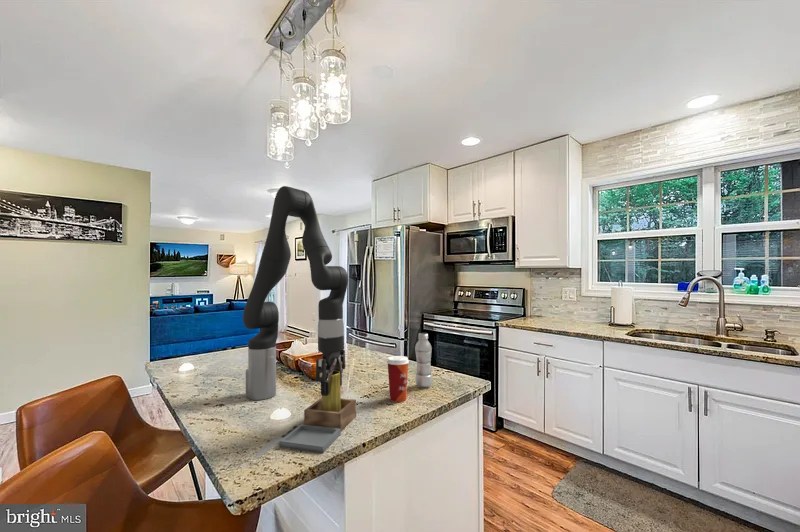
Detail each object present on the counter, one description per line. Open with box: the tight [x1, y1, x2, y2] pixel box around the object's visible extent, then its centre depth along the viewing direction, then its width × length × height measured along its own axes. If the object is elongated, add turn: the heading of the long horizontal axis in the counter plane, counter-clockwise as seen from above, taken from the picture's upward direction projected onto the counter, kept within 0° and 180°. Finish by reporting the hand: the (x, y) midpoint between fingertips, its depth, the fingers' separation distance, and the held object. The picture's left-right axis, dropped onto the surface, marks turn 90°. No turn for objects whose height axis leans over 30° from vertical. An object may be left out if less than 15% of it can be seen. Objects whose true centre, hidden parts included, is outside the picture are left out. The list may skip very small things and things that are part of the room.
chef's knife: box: [254, 425, 299, 459], centre depth 88 cm, size 19×1×3 cm
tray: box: [278, 423, 342, 454], centre depth 89 cm, size 12×10×2 cm
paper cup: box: [386, 355, 410, 403], centre depth 119 cm, size 8×8×14 cm
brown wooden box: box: [303, 397, 357, 433], centre depth 100 cm, size 11×11×5 cm
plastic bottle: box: [414, 332, 433, 388], centre depth 132 cm, size 6×7×20 cm
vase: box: [321, 370, 342, 412], centre depth 100 cm, size 6×6×14 cm
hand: (331, 390), depth 100 cm, fingers open, 8 cm apart
